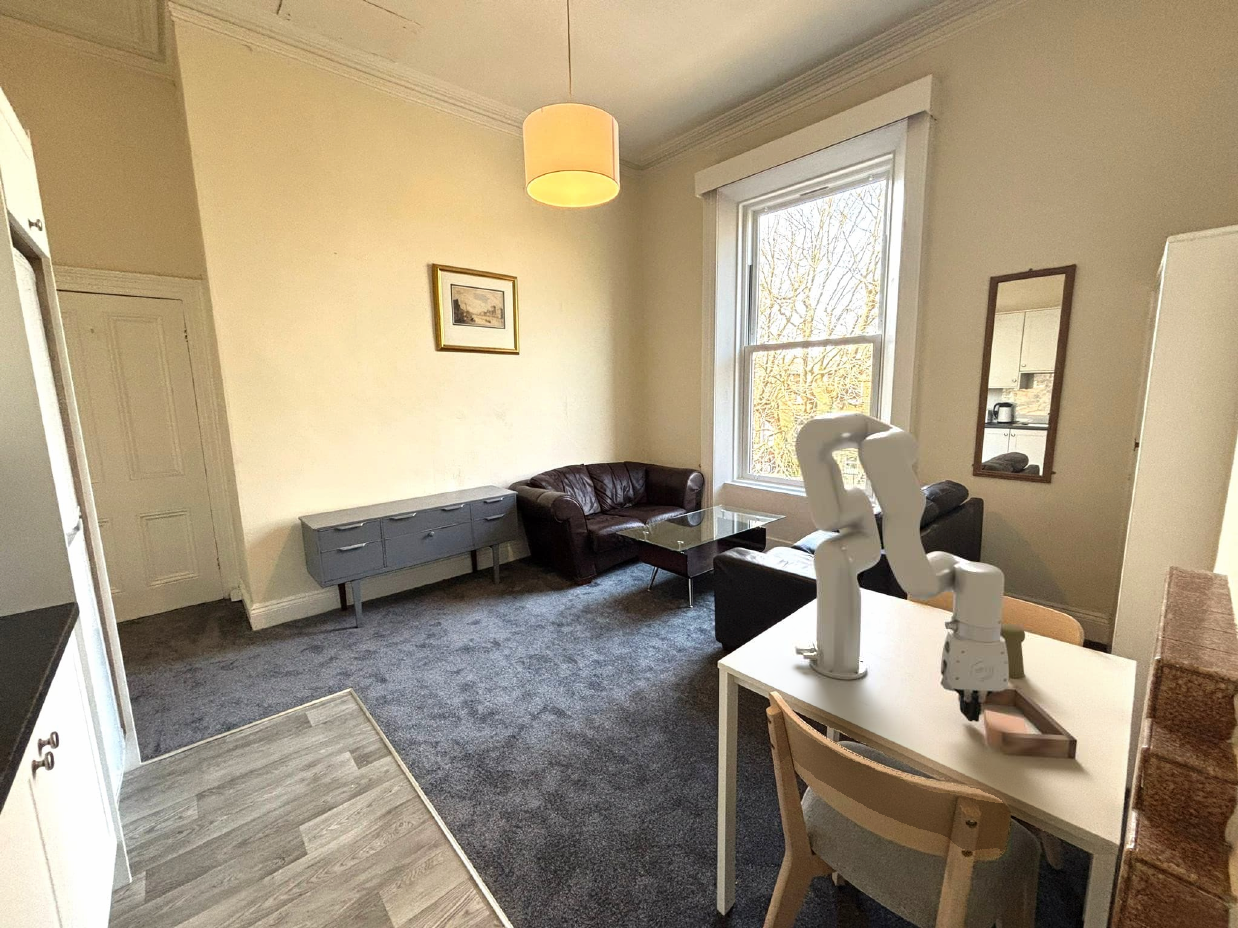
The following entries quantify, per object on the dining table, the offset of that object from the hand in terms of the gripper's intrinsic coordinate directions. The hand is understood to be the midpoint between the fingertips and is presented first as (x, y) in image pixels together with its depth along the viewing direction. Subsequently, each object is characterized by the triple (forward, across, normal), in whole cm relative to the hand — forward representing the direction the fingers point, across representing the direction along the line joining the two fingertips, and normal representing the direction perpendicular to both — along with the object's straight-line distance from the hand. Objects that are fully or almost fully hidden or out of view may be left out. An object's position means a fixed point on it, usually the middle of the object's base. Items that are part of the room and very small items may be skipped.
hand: (969, 716), depth 99 cm
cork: (+2, +18, +20) cm, 27 cm away
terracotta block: (+2, +5, -3) cm, 6 cm away
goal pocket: (+2, +7, 0) cm, 7 cm away
